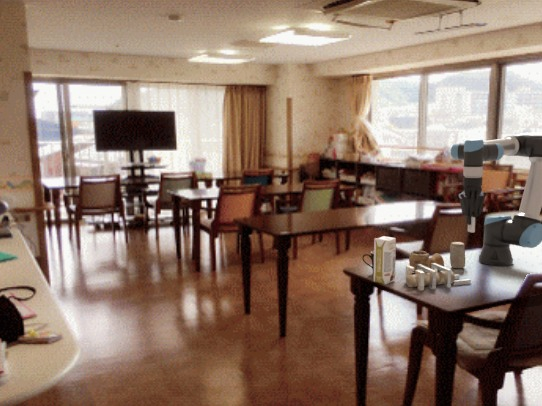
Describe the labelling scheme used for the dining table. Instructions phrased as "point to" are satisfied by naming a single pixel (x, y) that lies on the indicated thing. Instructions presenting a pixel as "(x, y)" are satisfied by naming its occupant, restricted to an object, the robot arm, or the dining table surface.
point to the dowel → (427, 279)
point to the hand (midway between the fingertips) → (471, 231)
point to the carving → (457, 255)
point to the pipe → (424, 259)
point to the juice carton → (384, 259)
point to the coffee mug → (371, 259)
